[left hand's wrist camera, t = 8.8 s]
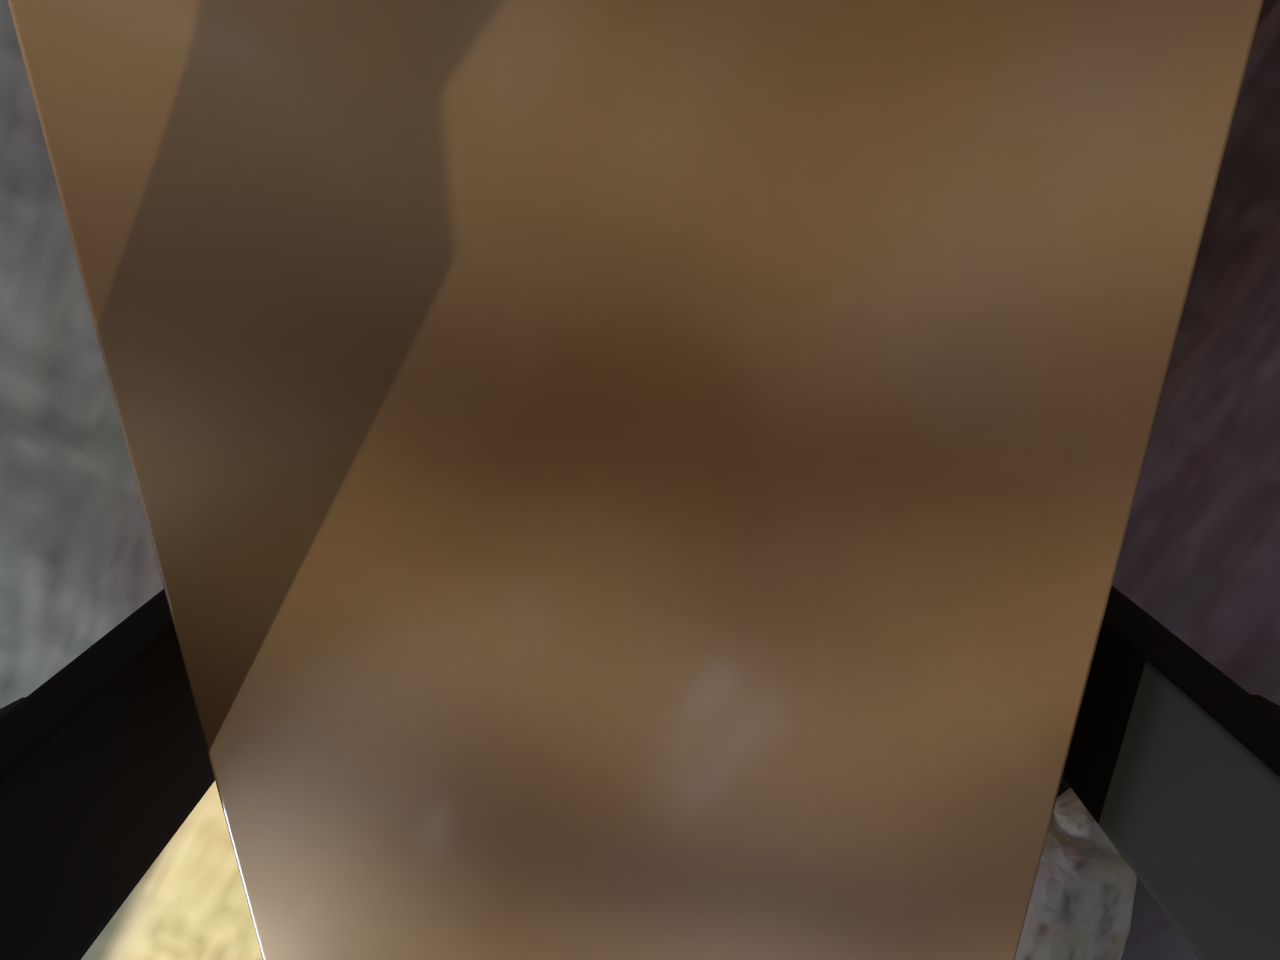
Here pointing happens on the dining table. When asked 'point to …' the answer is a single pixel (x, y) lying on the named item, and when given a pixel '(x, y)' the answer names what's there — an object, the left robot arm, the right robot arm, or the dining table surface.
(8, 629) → the dining table surface
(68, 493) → the dining table surface
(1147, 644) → the left robot arm
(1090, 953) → the decorative stone
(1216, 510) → the dining table surface
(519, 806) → the cabinet
